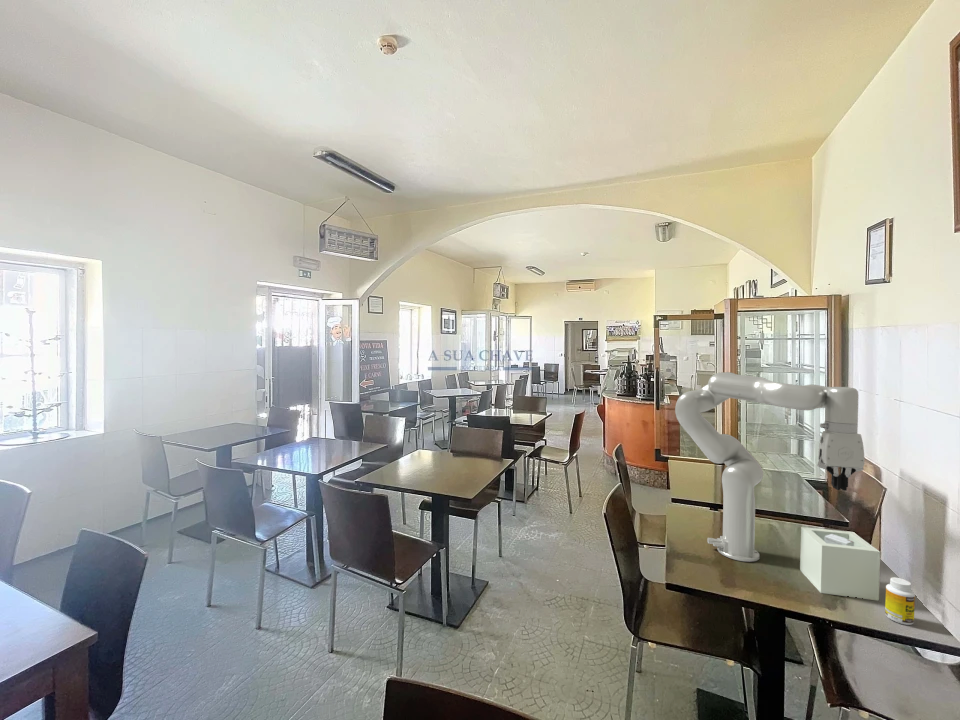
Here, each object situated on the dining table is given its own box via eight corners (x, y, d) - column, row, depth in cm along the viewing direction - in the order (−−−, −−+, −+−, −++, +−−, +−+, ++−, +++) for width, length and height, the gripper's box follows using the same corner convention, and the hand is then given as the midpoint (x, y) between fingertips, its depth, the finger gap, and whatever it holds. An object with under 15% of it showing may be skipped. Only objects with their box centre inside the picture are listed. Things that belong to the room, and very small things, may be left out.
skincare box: (821, 574, 135) (822, 535, 135) (830, 571, 137) (831, 533, 136) (845, 584, 129) (846, 543, 129) (853, 581, 131) (854, 540, 131)
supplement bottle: (907, 628, 112) (908, 588, 112) (880, 616, 117) (881, 578, 117) (918, 623, 114) (919, 584, 114) (891, 611, 119) (893, 574, 119)
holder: (820, 592, 128) (822, 545, 128) (800, 570, 142) (801, 526, 141) (878, 600, 124) (880, 551, 124) (851, 576, 138) (853, 532, 138)
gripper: (817, 428, 130) (815, 490, 131) (879, 431, 126) (877, 495, 127) (805, 424, 138) (804, 483, 138) (864, 427, 134) (862, 487, 134)
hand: (839, 488), depth 132 cm, fingers closed
